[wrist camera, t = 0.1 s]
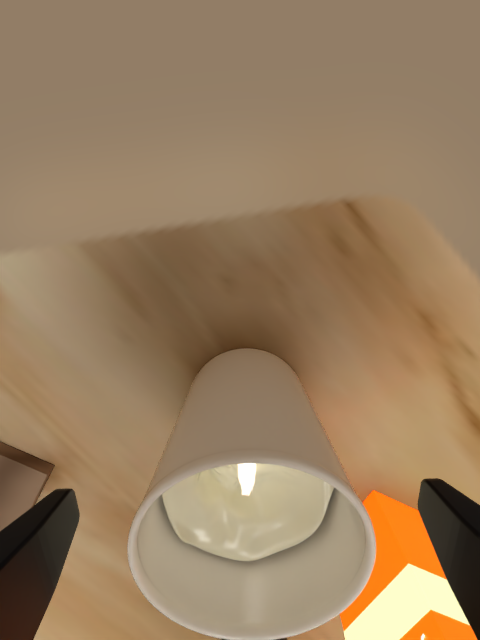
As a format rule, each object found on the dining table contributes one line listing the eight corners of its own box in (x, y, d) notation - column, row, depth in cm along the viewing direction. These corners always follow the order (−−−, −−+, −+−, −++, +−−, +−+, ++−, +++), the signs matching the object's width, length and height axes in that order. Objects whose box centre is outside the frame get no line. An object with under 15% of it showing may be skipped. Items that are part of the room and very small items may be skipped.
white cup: (283, 314, 22) (327, 418, 11) (331, 427, 25) (407, 604, 14) (156, 368, 24) (76, 513, 12) (215, 470, 26) (196, 666, 15)
